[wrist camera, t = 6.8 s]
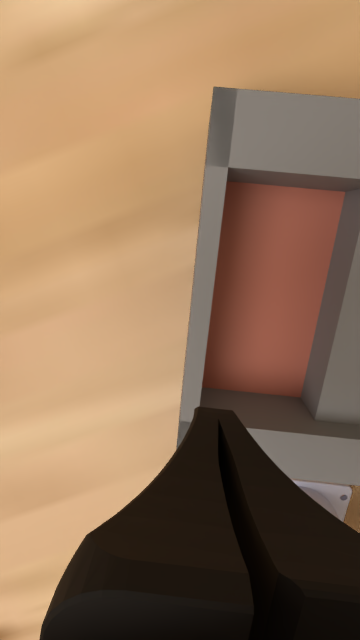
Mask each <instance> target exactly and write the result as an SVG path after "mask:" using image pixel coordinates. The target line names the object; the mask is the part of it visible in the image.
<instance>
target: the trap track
mask: <svg viewBox="0 0 360 640" xmlns="http://www.w3.org/2000/svg"><path fill="white" fill-rule="evenodd" d="M197 407H207V408H216V409H225V410H233V411H234V413H235V414H236V415H237V417H238V418H239V419H240V421H241V422H242V424H243V425H244V426H245V428H246V429H247V430H248V432H249V433H250V434H251V436H252V437H253V438H254V440H255V441H256V442H257V443H258V445H259V446H260V447H261V448H262V450H263V451H264V452H265V453H266V454H267V455H268V456H269V458H270V459H271V460H272V461H273V462H274V463H275V464H276V465H277V466H278V467H279V468H280V469H281V470H282V471H283V472H284V473H285V474H286V475H287V476H288V477H289V478H292V479H301V480H310V481H320V482H329V483H338V484H347V485H356V486H360V99H355V98H343V97H331V96H319V95H307V94H295V93H283V92H271V91H259V90H247V89H235V88H223V87H214V88H213V96H212V105H211V113H210V121H209V130H208V140H207V150H206V160H205V170H204V180H203V189H202V199H201V209H200V219H199V229H198V239H197V248H196V258H195V268H194V278H193V288H192V297H191V307H190V317H189V327H188V337H187V347H186V356H185V366H184V376H183V386H182V396H181V406H180V415H179V426H178V437H177V448H178V447H179V445H180V444H181V442H182V440H183V439H184V437H185V435H186V433H187V431H188V429H189V427H190V424H191V422H192V419H193V416H194V409H195V408H197ZM177 448H176V450H177Z"/></svg>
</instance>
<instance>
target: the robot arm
mask: <svg viewBox="0 0 360 640" xmlns="http://www.w3.org/2000/svg"><path fill="white" fill-rule="evenodd" d="M351 494H352V489H351V487H350V485H347V484H338V483H329V482H320V481H310V480H301V479H292V478H289V477H288V476H287V475H286V474H285V473H284V472H283V471H282V470H281V469H280V468H279V467H278V466H277V465H276V464H275V463H274V462H273V461H272V460H271V459H270V458H269V456H268V455H267V454H266V453H265V452H264V451H263V450H262V448H261V447H260V446H259V445H258V443H257V442H256V441H255V440H254V438H253V437H252V436H251V434H250V433H249V432H248V430H247V429H246V428H245V426H244V425H243V424H242V422H241V421H240V419H239V418H238V417H237V415H236V414H235V413H234V411H233V410H225V409H216V408H207V407H197V408H195V409H194V416H193V419H192V422H191V424H190V427H189V429H188V431H187V433H186V435H185V437H184V439H183V440H182V442H181V444H180V445H179V447H178V448H177V450H176V452H175V453H174V455H173V456H172V458H171V459H170V460H169V462H168V463H167V464H166V466H165V467H164V468H163V469H162V471H161V472H160V473H159V474H158V475H157V476H156V477H155V479H154V480H153V481H152V482H151V483H150V484H149V485H148V486H147V487H146V488H145V489H144V490H143V491H142V492H141V493H140V494H139V495H138V496H137V497H136V498H134V499H133V500H132V501H131V502H130V503H129V504H128V505H126V506H125V507H124V508H123V509H122V510H121V511H119V512H118V513H117V514H116V515H114V516H113V517H112V518H110V519H109V520H107V521H106V522H104V523H103V524H102V525H100V526H99V527H97V528H96V529H95V530H93V531H92V532H90V533H89V534H87V535H86V537H85V538H84V540H83V541H82V543H81V544H80V546H79V548H78V549H77V551H76V552H75V554H74V556H73V558H72V559H71V561H70V563H69V565H68V566H67V568H66V570H65V572H64V574H63V576H62V578H61V580H60V582H59V584H58V586H57V588H56V590H55V593H54V596H53V598H52V601H51V603H50V606H49V608H48V611H47V614H46V616H45V619H44V621H43V624H42V628H41V634H40V640H360V533H358V532H357V531H355V530H354V529H352V528H351V527H349V526H348V525H346V524H345V523H344V522H343V521H344V518H345V515H346V511H347V508H348V505H349V501H350V498H351ZM342 495H344V496H342Z"/></svg>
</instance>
